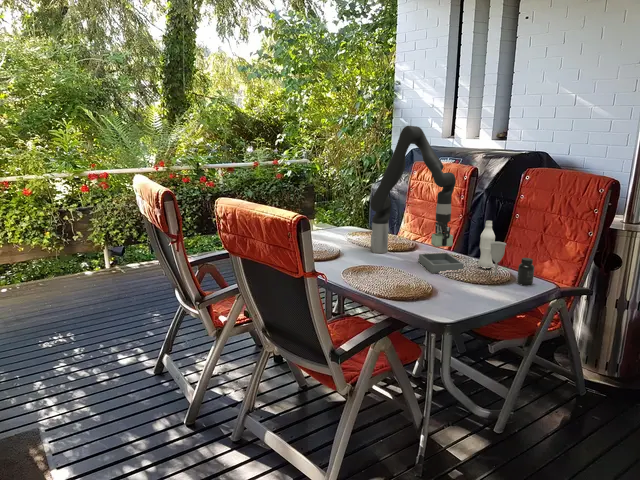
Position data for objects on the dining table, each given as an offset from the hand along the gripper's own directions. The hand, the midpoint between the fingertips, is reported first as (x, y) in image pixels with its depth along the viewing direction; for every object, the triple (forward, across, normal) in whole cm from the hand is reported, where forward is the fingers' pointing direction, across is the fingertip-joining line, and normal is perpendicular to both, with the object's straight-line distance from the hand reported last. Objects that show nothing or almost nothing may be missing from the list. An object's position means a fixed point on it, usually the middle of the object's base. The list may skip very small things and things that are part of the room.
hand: (441, 243), depth 252 cm
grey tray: (+12, 0, 0) cm, 12 cm away
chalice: (+13, +23, +18) cm, 32 cm away
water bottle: (+13, +6, +22) cm, 26 cm away
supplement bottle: (+13, +31, +29) cm, 44 cm away
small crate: (+1, 0, 0) cm, 1 cm away
